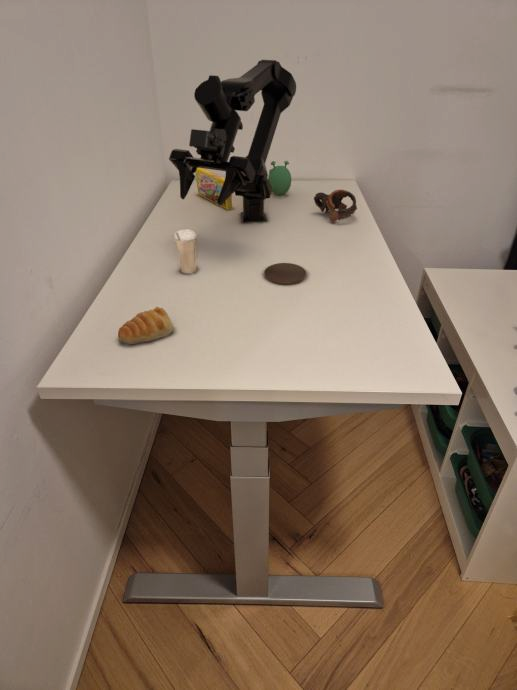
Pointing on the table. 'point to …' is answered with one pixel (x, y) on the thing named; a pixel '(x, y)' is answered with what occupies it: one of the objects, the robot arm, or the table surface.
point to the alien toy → (279, 178)
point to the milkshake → (186, 250)
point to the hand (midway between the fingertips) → (200, 201)
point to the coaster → (285, 273)
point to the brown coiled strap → (336, 204)
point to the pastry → (146, 327)
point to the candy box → (211, 187)
